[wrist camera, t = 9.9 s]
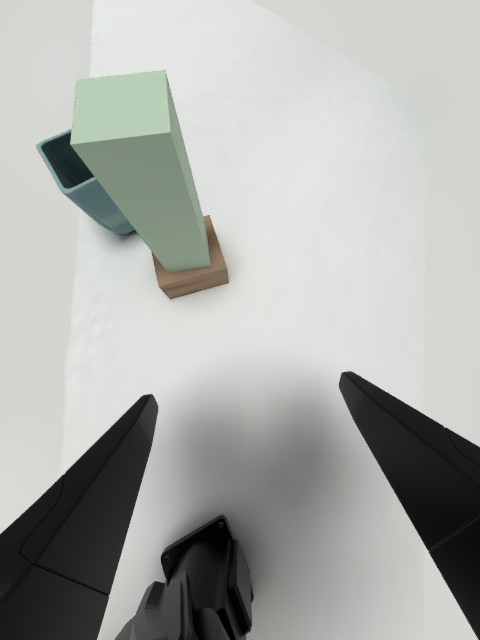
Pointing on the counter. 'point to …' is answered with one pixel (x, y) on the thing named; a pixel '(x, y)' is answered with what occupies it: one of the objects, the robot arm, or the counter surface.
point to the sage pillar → (142, 162)
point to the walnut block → (194, 271)
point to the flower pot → (81, 183)
